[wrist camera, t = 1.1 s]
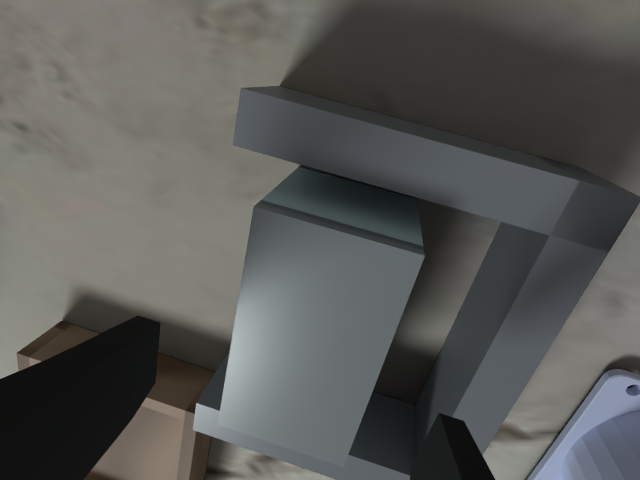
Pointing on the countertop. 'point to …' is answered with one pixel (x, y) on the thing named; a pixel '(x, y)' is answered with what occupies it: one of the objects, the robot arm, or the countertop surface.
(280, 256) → the pale grey block
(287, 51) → the countertop surface
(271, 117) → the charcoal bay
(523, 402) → the countertop surface
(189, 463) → the walnut tray
